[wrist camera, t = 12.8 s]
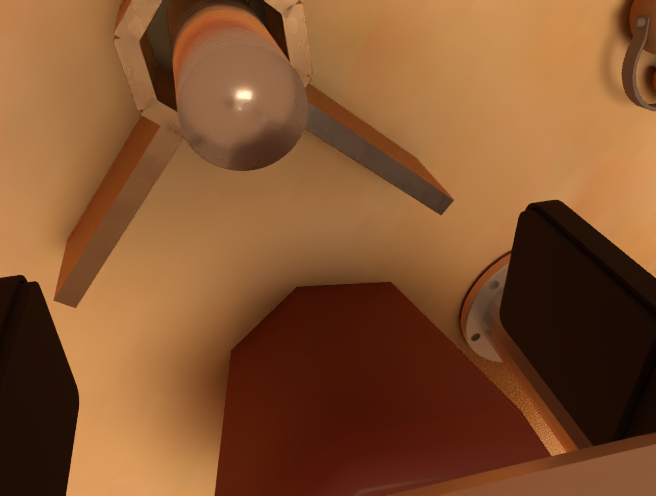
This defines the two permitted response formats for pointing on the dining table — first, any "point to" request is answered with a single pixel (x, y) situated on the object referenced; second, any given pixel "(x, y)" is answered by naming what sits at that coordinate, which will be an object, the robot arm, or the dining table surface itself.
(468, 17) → the dining table surface
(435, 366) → the bucket
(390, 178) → the hinge
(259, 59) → the hinge pin
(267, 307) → the dining table surface
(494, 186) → the dining table surface
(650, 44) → the alarm clock
